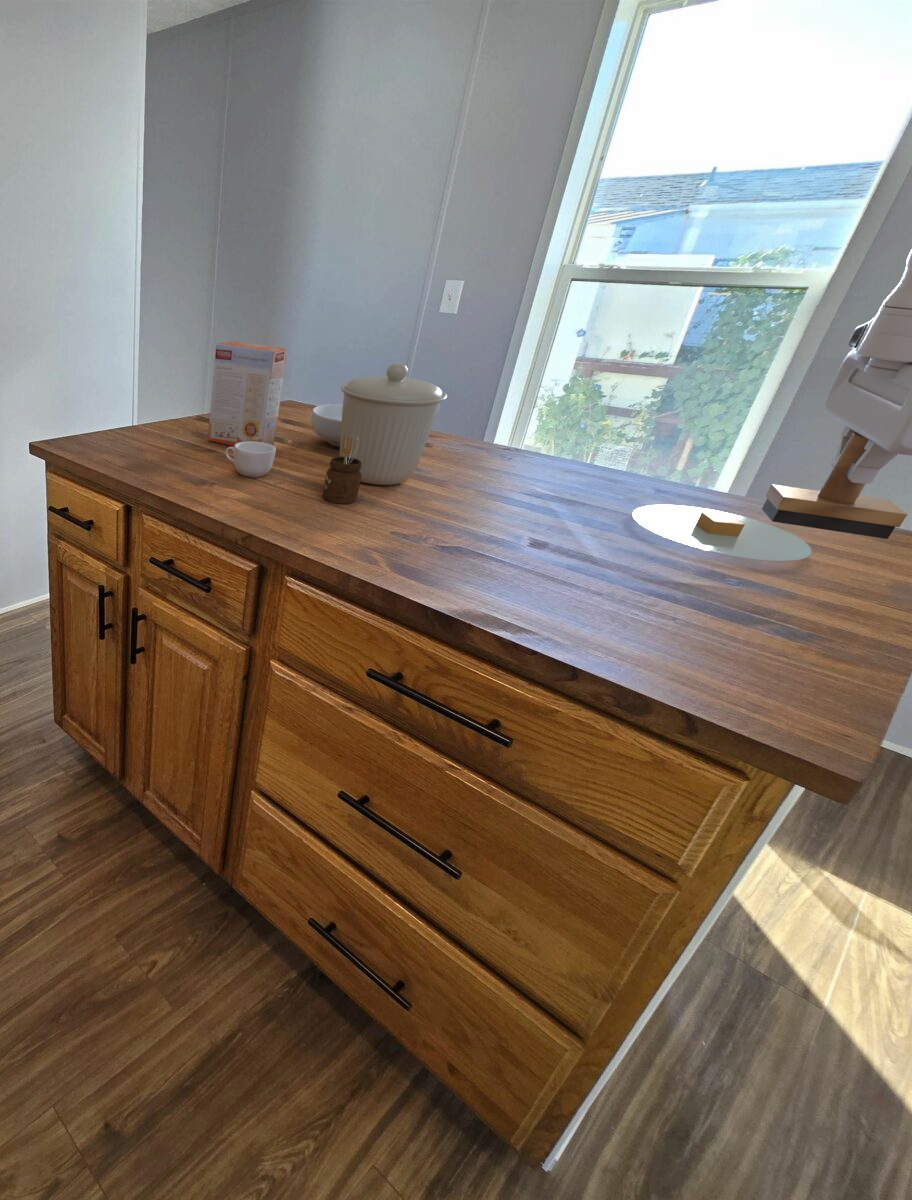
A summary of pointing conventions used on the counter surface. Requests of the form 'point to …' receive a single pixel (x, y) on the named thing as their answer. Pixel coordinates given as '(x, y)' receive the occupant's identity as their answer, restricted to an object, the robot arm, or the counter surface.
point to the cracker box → (246, 393)
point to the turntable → (750, 544)
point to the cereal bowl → (328, 422)
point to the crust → (720, 524)
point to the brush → (835, 502)
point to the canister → (388, 423)
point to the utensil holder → (343, 477)
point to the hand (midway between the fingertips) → (848, 475)
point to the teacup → (252, 458)
